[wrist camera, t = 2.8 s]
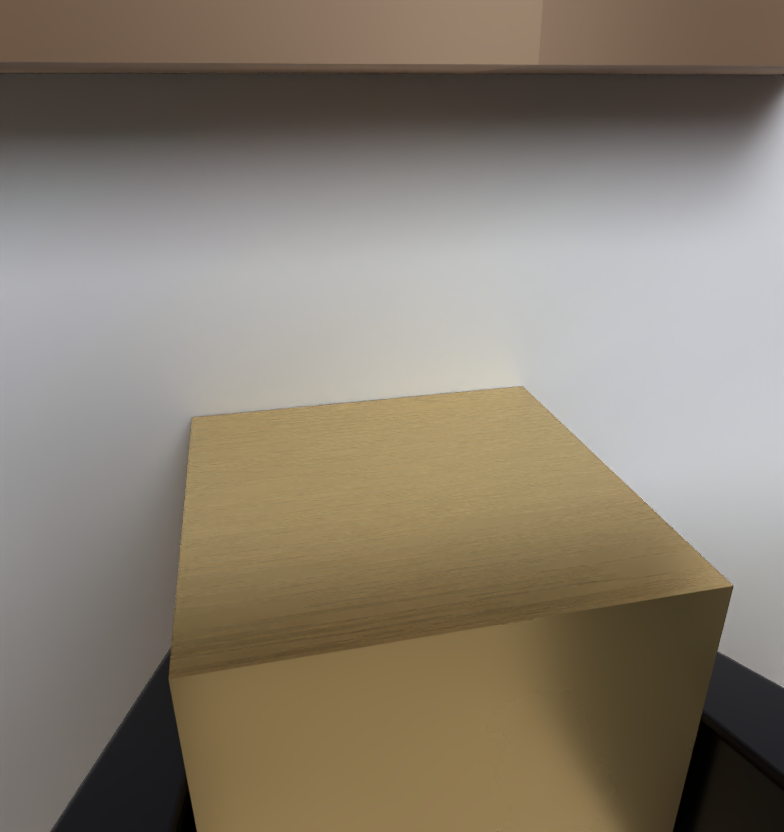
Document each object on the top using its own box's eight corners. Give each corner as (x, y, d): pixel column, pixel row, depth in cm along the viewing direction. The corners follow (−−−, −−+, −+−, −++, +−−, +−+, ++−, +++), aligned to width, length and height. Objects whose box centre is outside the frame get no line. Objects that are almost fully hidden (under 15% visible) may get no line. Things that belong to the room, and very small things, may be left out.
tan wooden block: (522, 385, 9) (733, 585, 5) (499, 685, 11) (638, 975, 7) (192, 417, 8) (168, 678, 4) (236, 733, 10) (244, 1087, 6)
